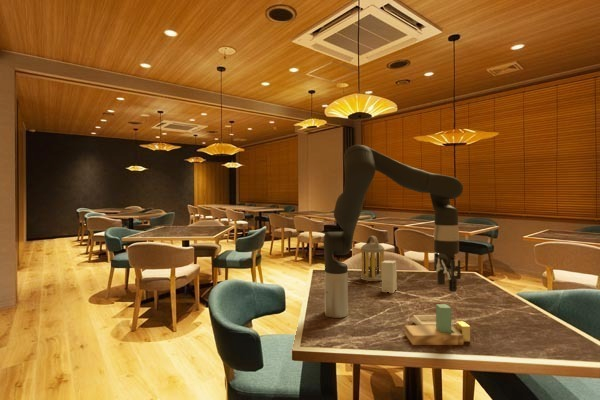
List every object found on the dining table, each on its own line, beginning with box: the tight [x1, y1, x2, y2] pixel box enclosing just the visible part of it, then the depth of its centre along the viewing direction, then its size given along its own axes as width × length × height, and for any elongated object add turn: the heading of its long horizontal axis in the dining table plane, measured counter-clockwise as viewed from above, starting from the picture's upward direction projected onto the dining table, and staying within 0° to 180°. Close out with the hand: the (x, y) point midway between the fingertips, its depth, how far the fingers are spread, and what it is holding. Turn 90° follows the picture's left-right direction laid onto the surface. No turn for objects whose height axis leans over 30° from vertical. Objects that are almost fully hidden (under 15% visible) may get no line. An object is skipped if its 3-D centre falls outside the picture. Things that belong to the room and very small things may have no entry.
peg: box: [435, 303, 452, 333], centre depth 106 cm, size 4×4×11 cm
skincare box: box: [381, 259, 398, 294], centre depth 162 cm, size 8×6×15 cm
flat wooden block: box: [404, 324, 464, 346], centre depth 106 cm, size 16×8×3 cm, turn 89°
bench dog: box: [455, 321, 471, 343], centre depth 106 cm, size 2×4×5 cm, turn 0°
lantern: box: [359, 235, 385, 280], centre depth 186 cm, size 14×14×25 cm
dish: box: [412, 314, 436, 325], centre depth 117 cm, size 10×9×2 cm
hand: (446, 287), depth 106 cm, fingers open, 8 cm apart
